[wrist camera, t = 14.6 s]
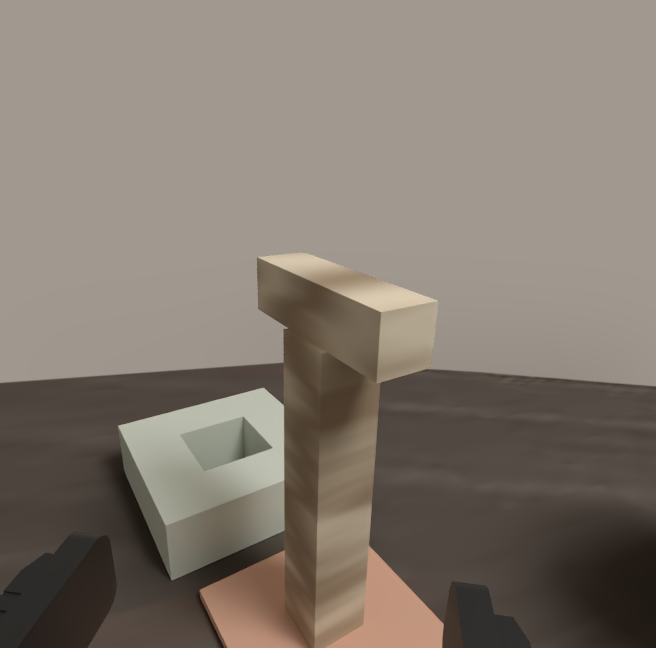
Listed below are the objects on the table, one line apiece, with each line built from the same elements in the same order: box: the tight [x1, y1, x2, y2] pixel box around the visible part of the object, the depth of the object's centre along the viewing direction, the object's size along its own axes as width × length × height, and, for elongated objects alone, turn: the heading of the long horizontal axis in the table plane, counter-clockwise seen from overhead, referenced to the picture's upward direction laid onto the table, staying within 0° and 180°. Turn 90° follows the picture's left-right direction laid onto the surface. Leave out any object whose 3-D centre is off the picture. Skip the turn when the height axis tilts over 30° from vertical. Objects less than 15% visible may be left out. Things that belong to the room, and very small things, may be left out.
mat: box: [200, 546, 444, 648], centre depth 26 cm, size 10×10×1 cm
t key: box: [257, 252, 438, 648], centre depth 23 cm, size 9×3×18 cm, turn 33°
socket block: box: [118, 388, 285, 581], centre depth 36 cm, size 12×12×4 cm
